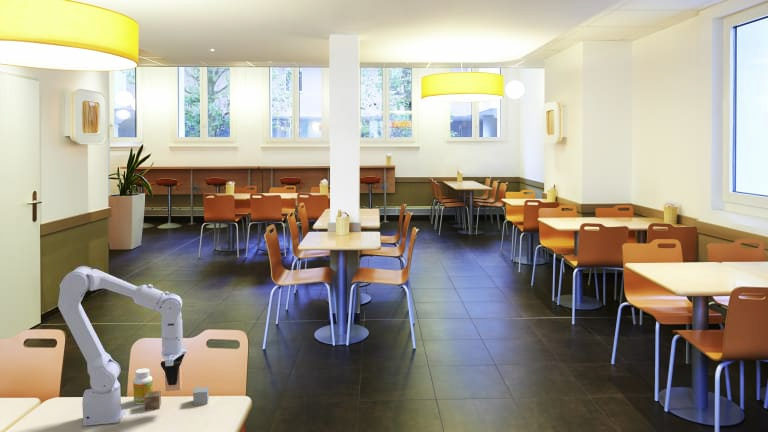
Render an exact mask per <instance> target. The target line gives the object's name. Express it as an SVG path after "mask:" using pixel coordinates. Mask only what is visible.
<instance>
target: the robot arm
mask: <svg viewBox="0 0 768 432" xmlns="http://www.w3.org/2000/svg"><path fill="white" fill-rule="evenodd" d="M99 289H106V290H108V291H112V292H114V293H117V294H121V295H123V296H127V297H131V298H132V300H133V302H134V303H135V304H136V305H139V306H141V307H144V308H146V309H149V310H152V311H155V312H159V314H161V356H162V358H163V359H164V360H162V361H160V367H161V368H162V370H163V371H164V375H165V374H166V378H167V382H168V385H176V383H177V379H178V371H179V367H180V365H181V366H182V363H183V359H184V358H185V354H187V353H188V349H187V348H184V336H183V335H184V334H183V331H184V330H183V319H182V318H183V314H182V307H183V299H182V298H181V296H179V295H178V294H176V293H175V292H174V293H173V292H171V293H170V291H167V290H166V291H162V290H160V289H157V288H155V287H154V285H153V284H150V283H149V284H148V285H146V284H141V285H135V284H132V283H130V282H127V281H126V280H123V279H121V278H118V277H116V276H114V275H111V274H109V273H106V272H104V271H102V270H100V269H97V268H93V269H92V267H89V266H86V265H80V266H78V267H76V268H75V269H74V270H72V271H70V272H68V273H67V274H66V275H65V276H64V277H63V279H62V281H61V282H60V284H59V296H58V300H57V301H58V302H57V307H58V309H59V312H60V313H61V315H62V317H63V320H64V321H65V323H66V325H67V327H68V329H69V330H70V332H71V334H72V336H73V338H74V340H75V342H76V344H77V346H78V348H79V350H80V352H81V353H82V355H83V357H84V359H85V361H86V365H87V368H86V369H87V374H88V375H89V383H90V385H89V386H90V388H89V389H85V390H84V392H83V394H82V395H83V396H82V405H81V406H82V421H83V422H82V427H83V426H84V427H86V426H96V425H108V424H118V423H120V421H121V420H122V419H123V416H124V415H125V413H126V409H122V398H121V393H122V392H121V383H120V382H119V380H118V378H119V376H120V374H121V366H120V364H119V363H118V362H117V361H115V360H114V359H113V358H112V356H111V354H109V353H108V352H107V351H106V350H105V349H104V347H103V344H102V343H101V341H100V339H99V337H98V334H97V333H96V331H95V330H94V326H92V323H91V322H90V319H89V317H88V316H87V314H86V312H85V309H84V308H83V306H82V304H81V302H82V301H83V298H84V296H85V294H86V292H87V291H88V290H89V291H90V292H91V291H96V290H99Z"/></svg>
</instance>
